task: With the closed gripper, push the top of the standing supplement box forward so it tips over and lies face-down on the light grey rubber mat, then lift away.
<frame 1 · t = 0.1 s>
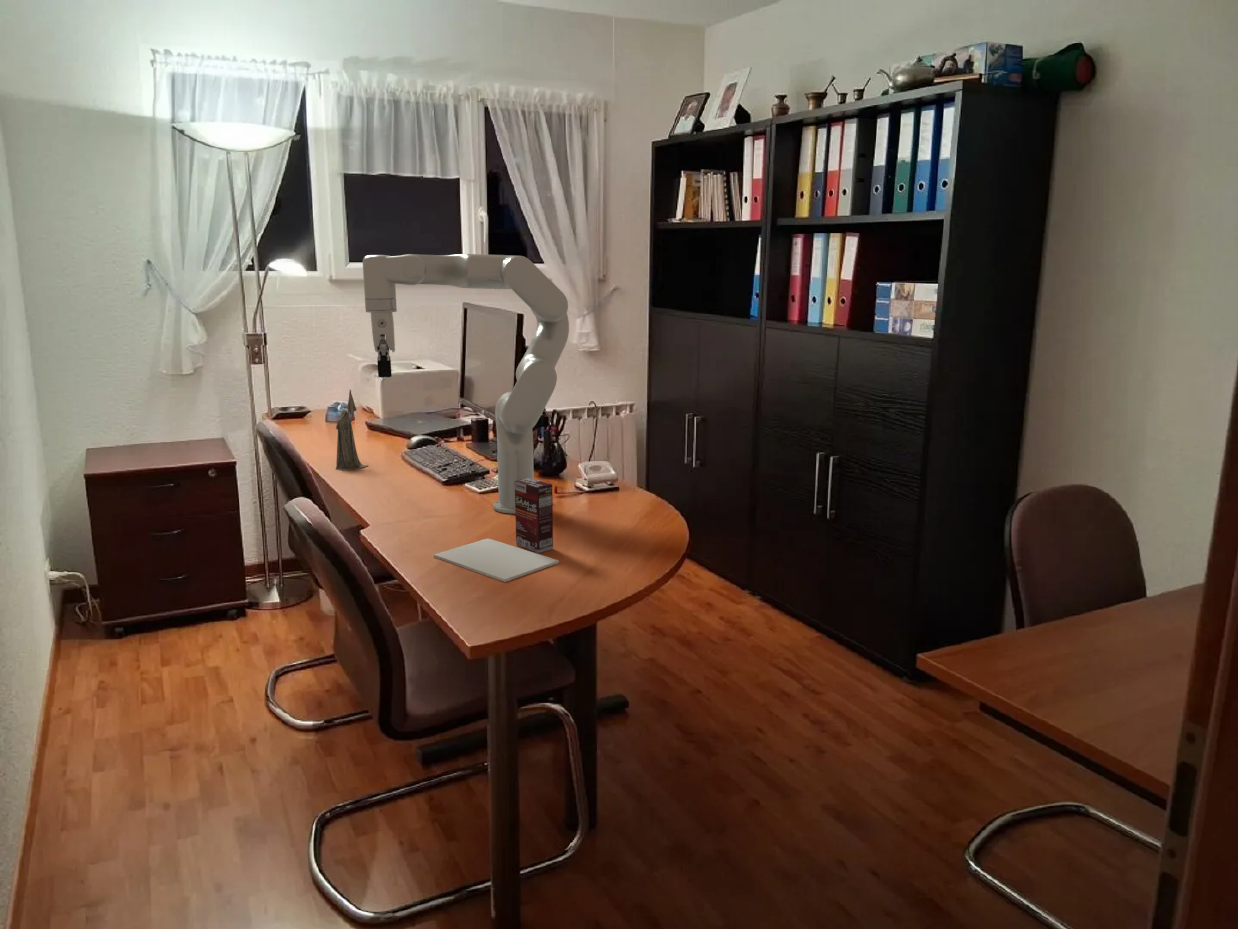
hand: (384, 374, 227), 37 cm above the table, tool pointing down, fingers open, 9 cm apart
supplement box: (534, 548, 211), on the table
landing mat: (495, 560, 202), on the table
wizard figurine: (350, 467, 289), on the table
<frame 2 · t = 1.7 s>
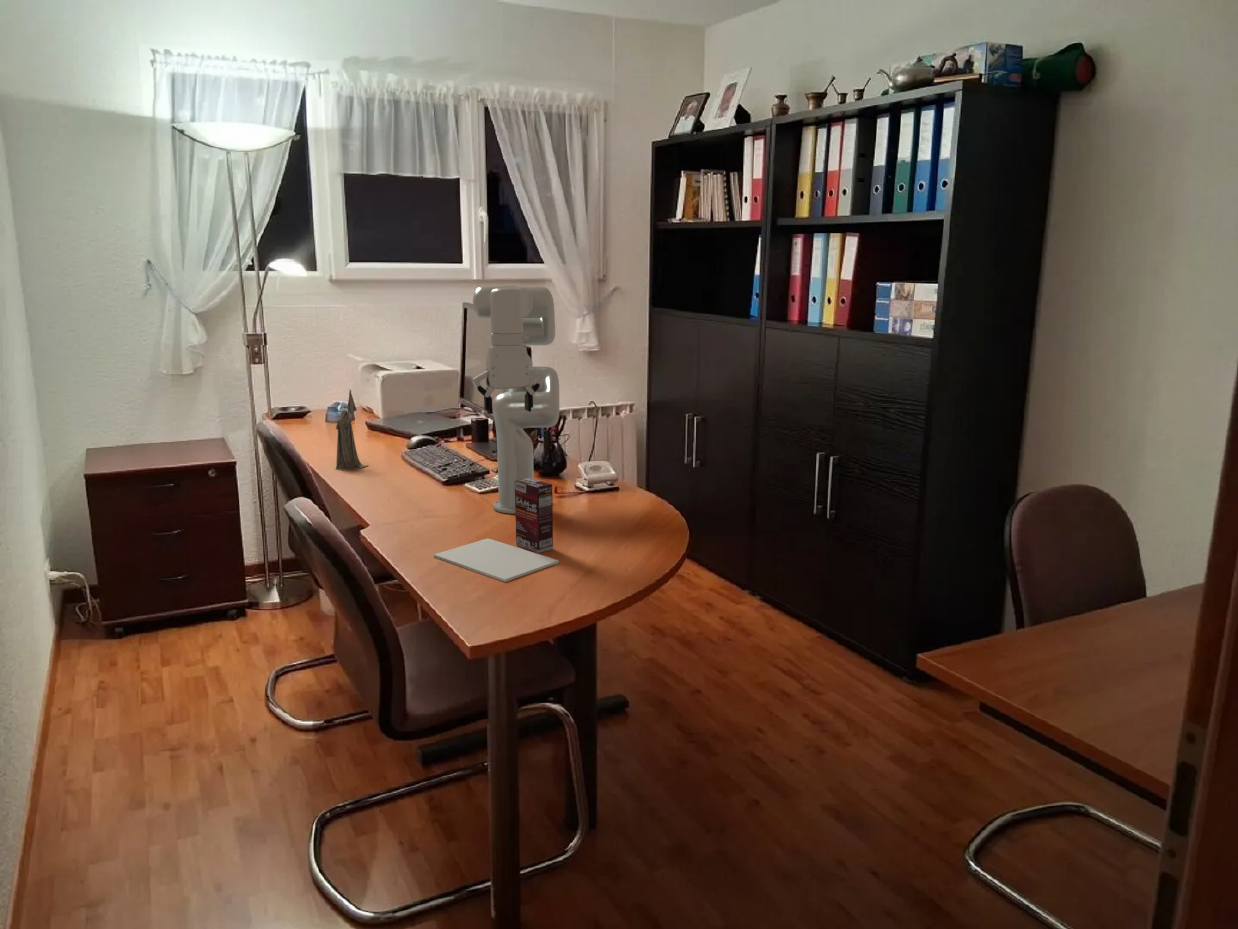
hand: (508, 411, 217), 30 cm above the table, tool pointing down, fingers open, 9 cm apart
nothing on the table moved.
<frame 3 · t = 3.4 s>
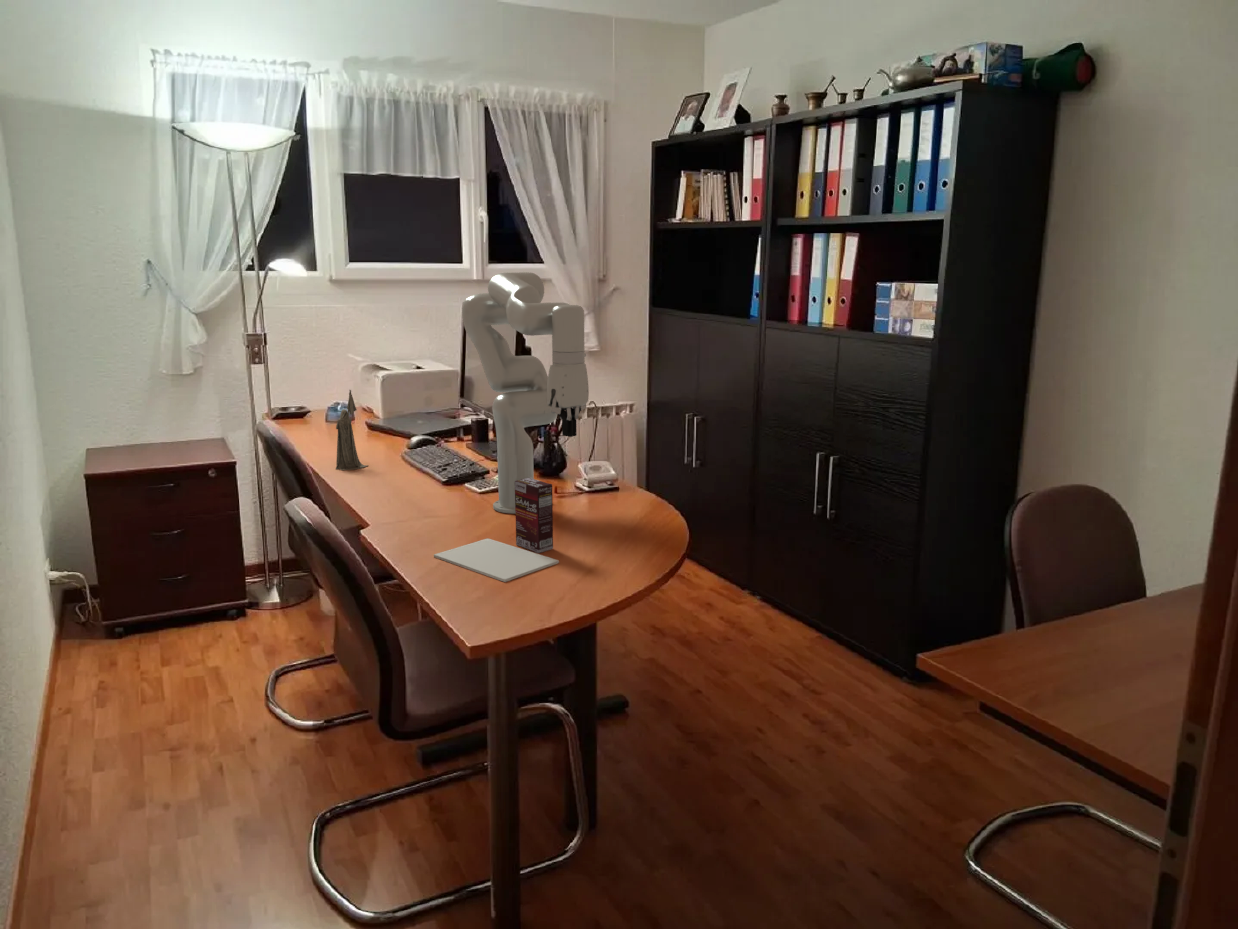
hand: (569, 435, 214), 25 cm above the table, tool pointing down, fingers closed
nothing on the table moved.
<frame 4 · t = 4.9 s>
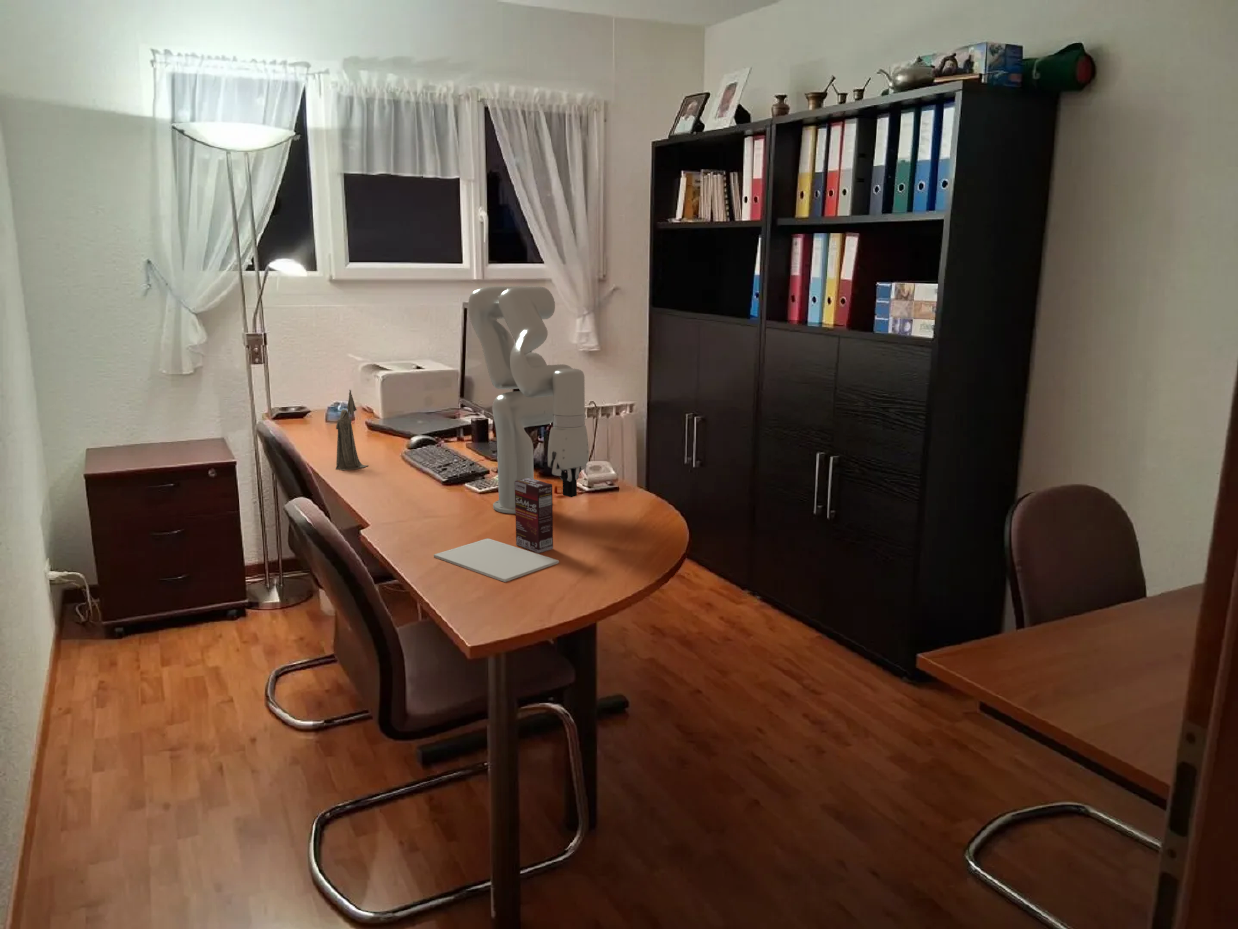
hand: (569, 495, 217), 10 cm above the table, tool pointing down, fingers closed
nothing on the table moved.
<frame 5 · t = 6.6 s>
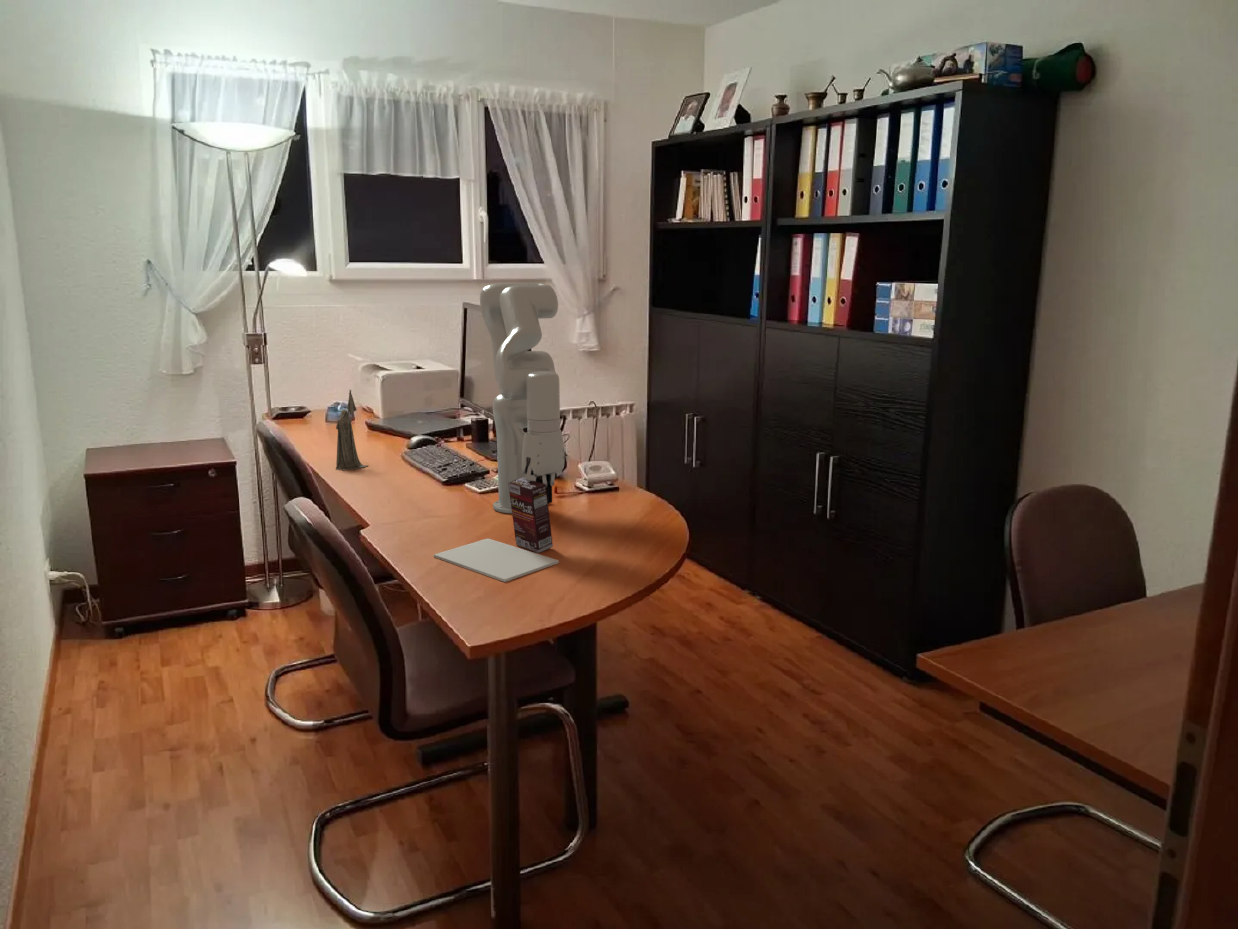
hand: (545, 502, 211), 10 cm above the table, tool pointing down, fingers closed
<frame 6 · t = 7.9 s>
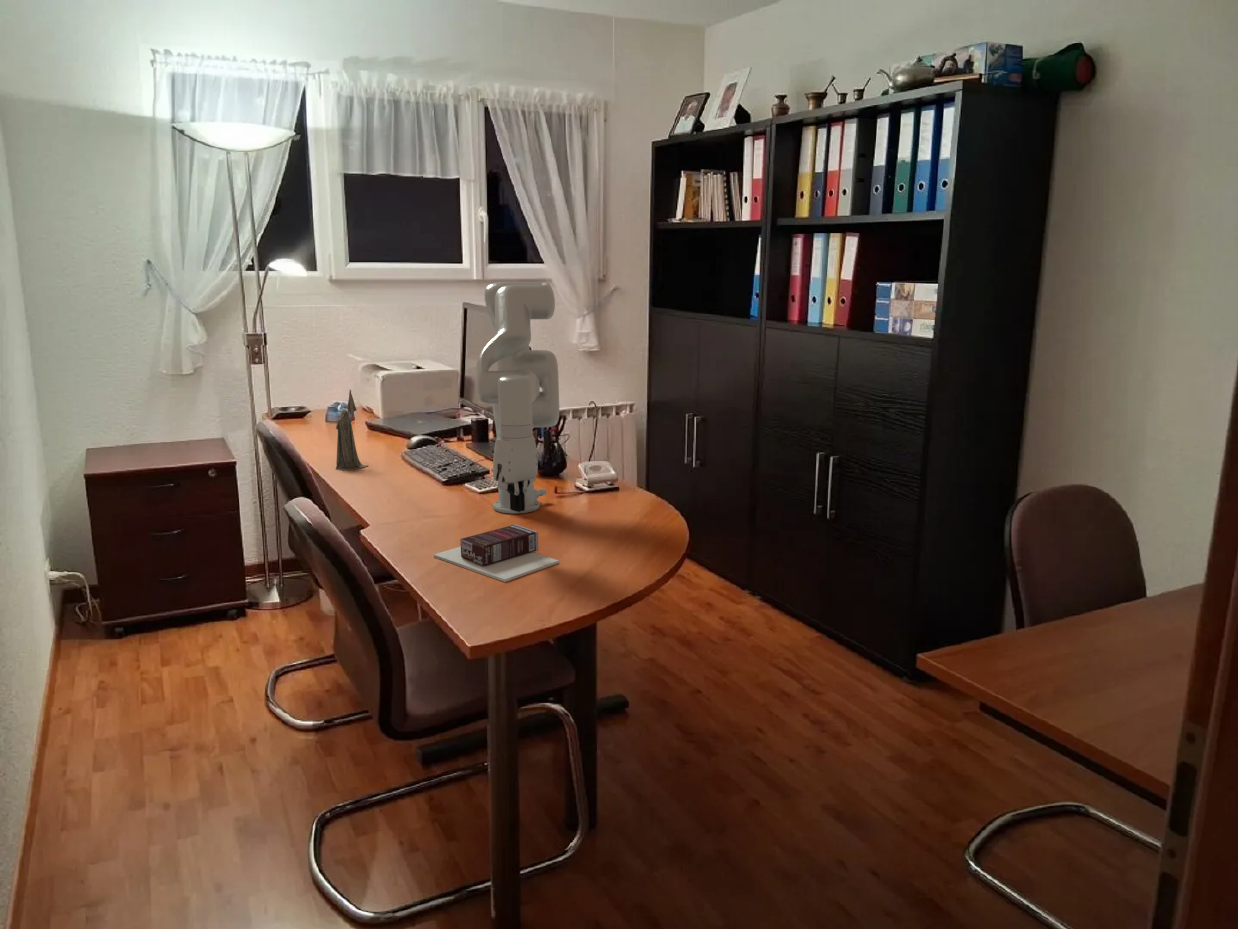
hand: (517, 510, 204), 10 cm above the table, tool pointing down, fingers closed
supplement box: (528, 537, 209), point 3 cm above the table, touching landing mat
everything else where it was.
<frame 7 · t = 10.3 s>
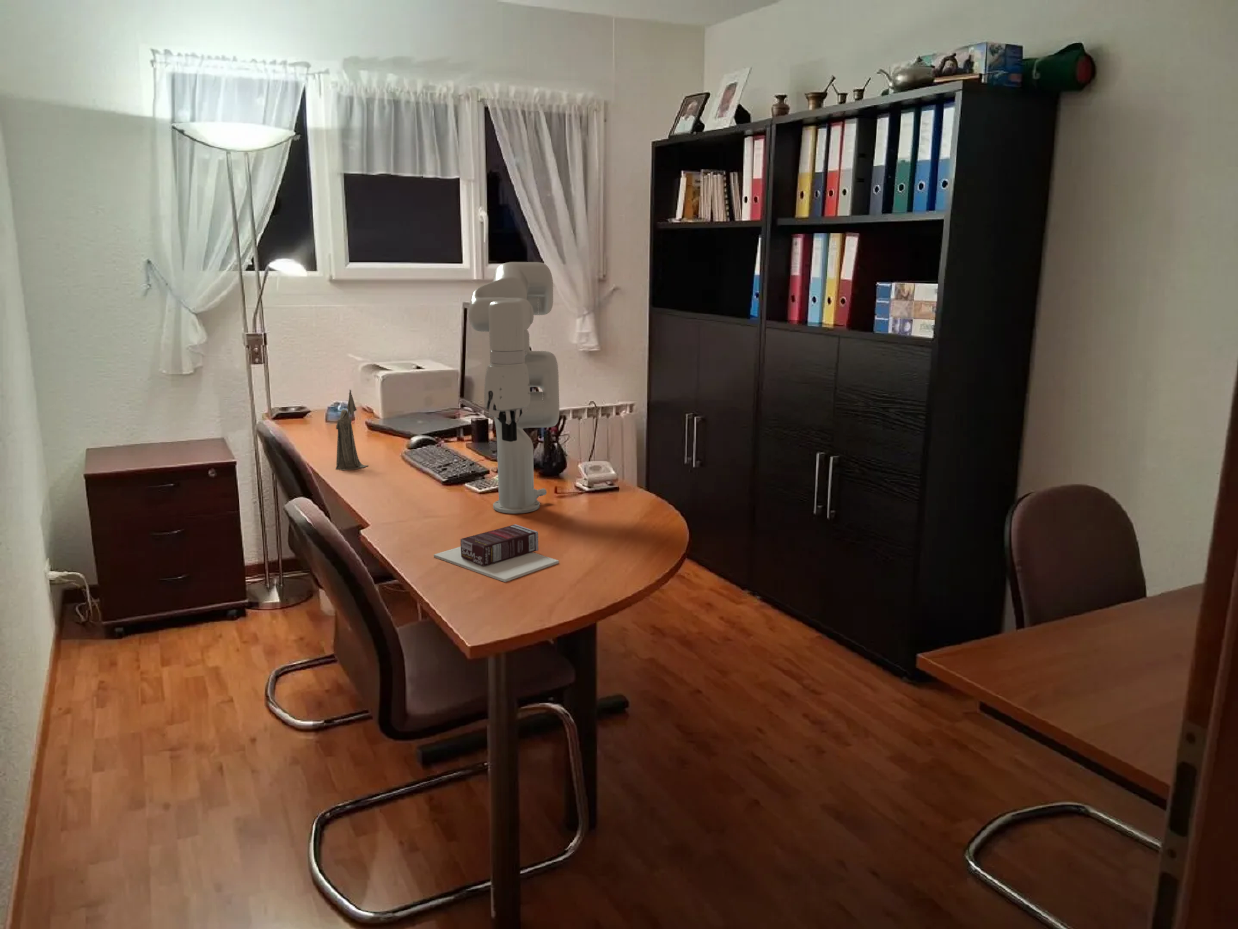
hand: (509, 440, 199), 27 cm above the table, tool pointing down, fingers closed
nothing on the table moved.
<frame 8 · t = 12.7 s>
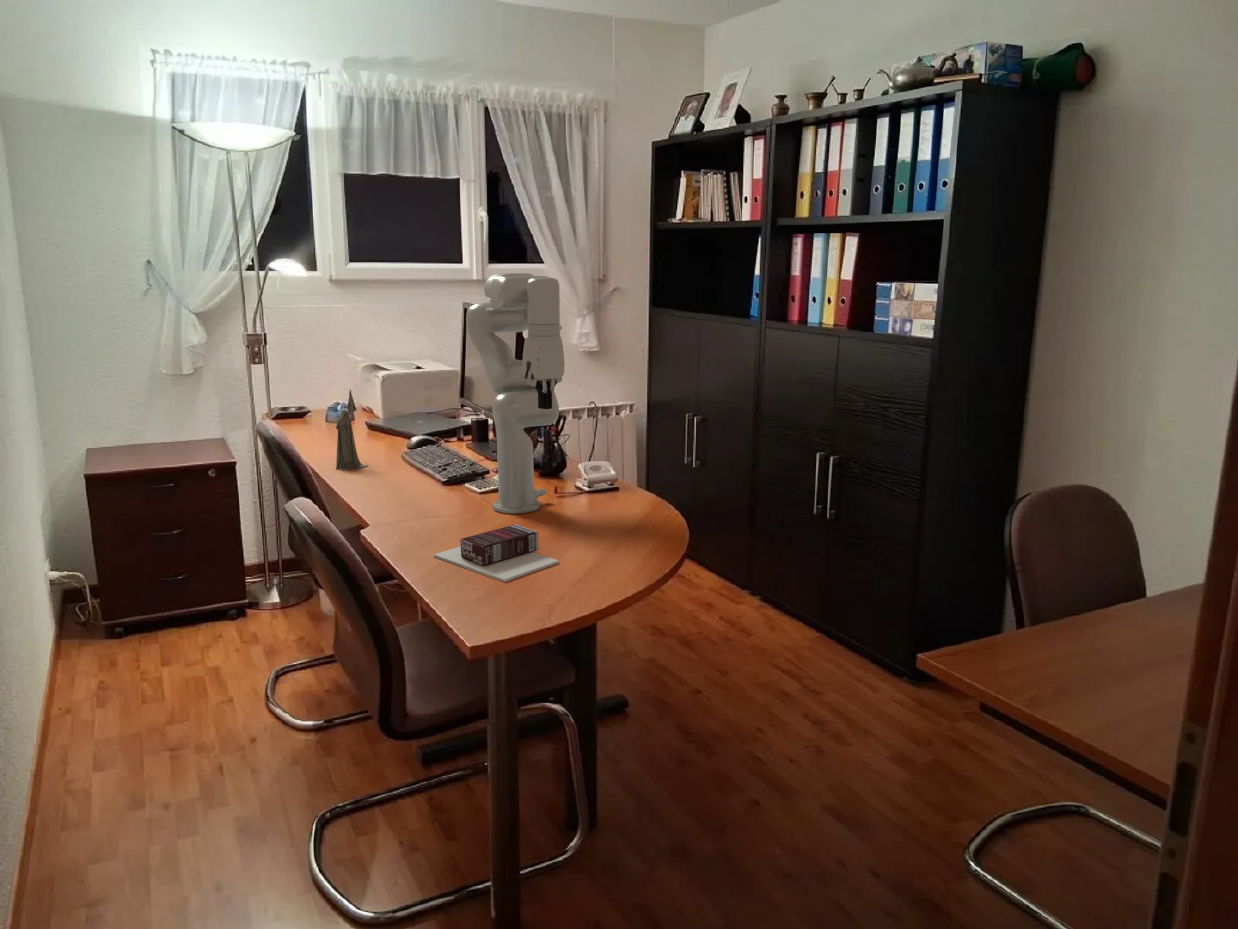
hand: (545, 408, 215), 31 cm above the table, tool pointing down, fingers closed
nothing on the table moved.
at the end: supplement box tilted 89°; supplement box touching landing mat; the gripper is holding nothing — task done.
